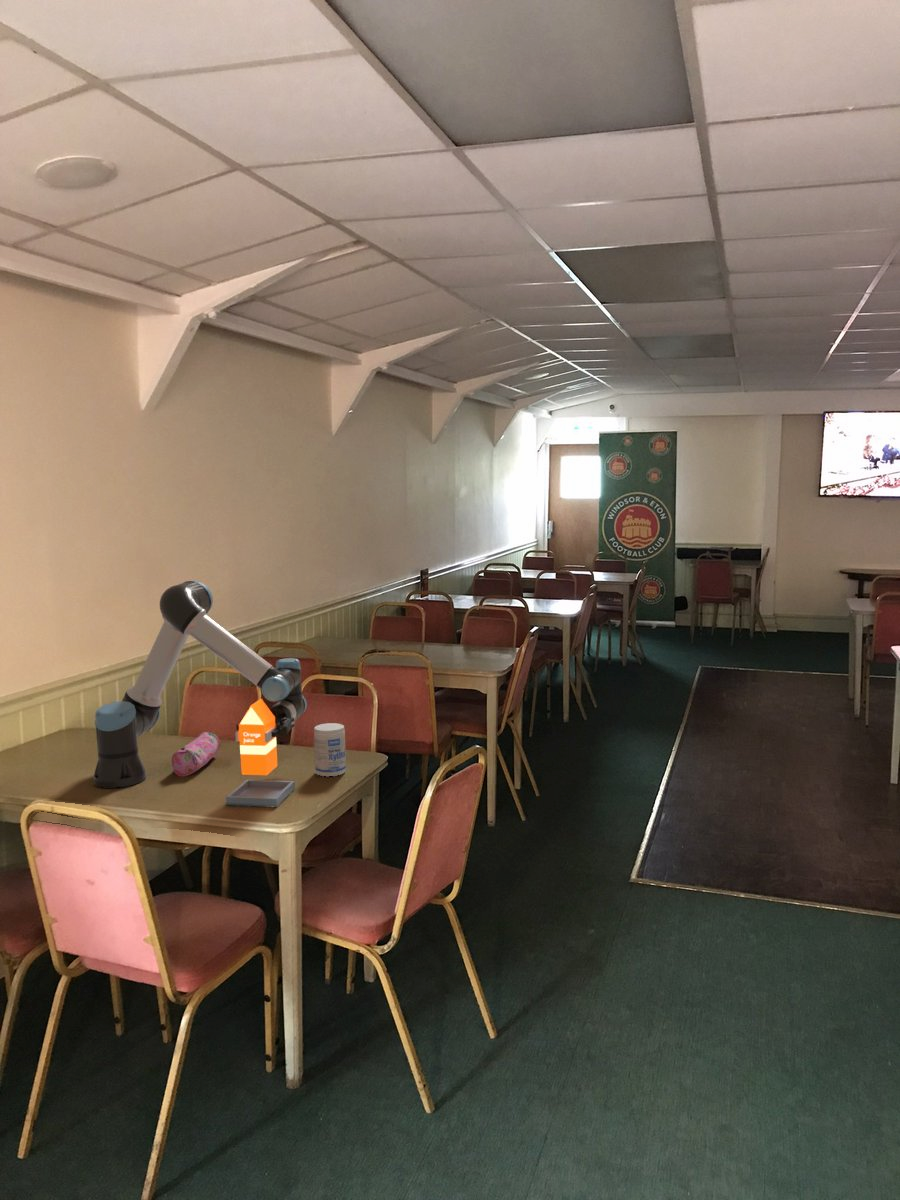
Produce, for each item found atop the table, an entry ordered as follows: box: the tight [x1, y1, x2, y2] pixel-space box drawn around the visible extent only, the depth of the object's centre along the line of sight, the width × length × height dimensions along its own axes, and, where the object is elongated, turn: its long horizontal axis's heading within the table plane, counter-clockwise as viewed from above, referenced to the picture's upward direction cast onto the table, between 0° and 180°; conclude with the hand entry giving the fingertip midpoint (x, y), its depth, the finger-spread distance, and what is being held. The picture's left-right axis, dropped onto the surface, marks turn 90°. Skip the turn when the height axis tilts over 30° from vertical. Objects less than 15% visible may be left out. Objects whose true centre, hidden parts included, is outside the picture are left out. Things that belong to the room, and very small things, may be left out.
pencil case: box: [171, 731, 221, 777], centre depth 295 cm, size 21×9×9 cm, turn 172°
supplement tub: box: [313, 722, 347, 778], centre depth 285 cm, size 10×10×15 cm
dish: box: [225, 779, 296, 808], centre depth 265 cm, size 15×15×2 cm
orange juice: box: [238, 698, 278, 776], centre depth 263 cm, size 8×9×20 cm
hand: (251, 737), depth 258 cm, fingers closed on orange juice, 8 cm apart
